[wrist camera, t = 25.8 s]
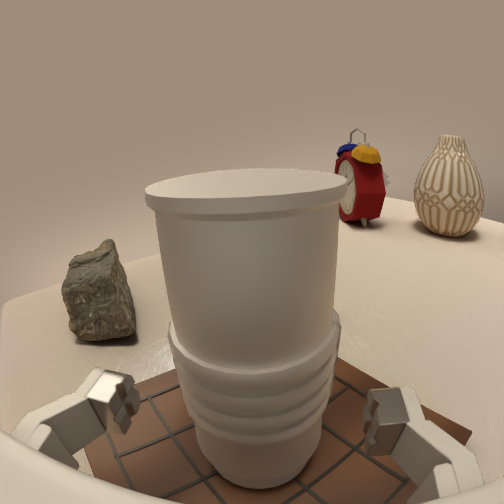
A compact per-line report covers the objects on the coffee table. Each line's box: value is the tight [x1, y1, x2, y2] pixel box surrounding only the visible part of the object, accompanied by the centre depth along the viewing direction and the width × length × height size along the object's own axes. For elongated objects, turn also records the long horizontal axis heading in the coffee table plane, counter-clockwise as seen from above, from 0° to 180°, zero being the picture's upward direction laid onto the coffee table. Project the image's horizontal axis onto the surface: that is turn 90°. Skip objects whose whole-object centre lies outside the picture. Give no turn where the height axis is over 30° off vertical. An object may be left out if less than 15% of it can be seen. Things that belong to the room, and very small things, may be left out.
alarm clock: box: [334, 128, 390, 228], centre depth 61 cm, size 15×9×20 cm, turn 4°
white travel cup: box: [144, 168, 348, 489], centre depth 13 cm, size 7×7×15 cm
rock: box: [62, 239, 136, 341], centre depth 32 cm, size 17×7×10 cm
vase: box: [414, 135, 484, 237], centre depth 52 cm, size 16×16×20 cm
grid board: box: [84, 357, 472, 504], centre depth 16 cm, size 20×20×1 cm
